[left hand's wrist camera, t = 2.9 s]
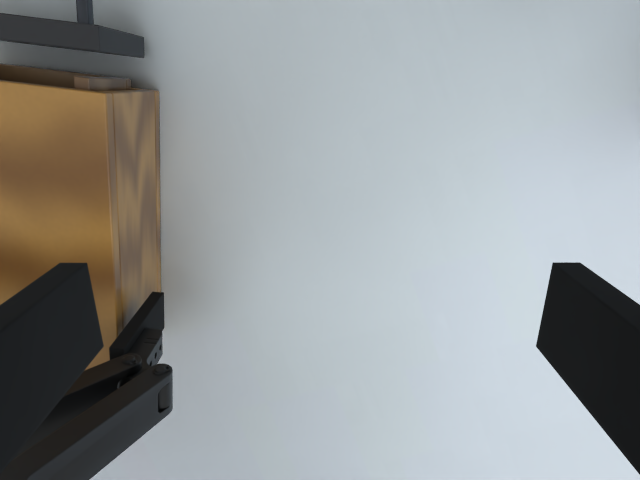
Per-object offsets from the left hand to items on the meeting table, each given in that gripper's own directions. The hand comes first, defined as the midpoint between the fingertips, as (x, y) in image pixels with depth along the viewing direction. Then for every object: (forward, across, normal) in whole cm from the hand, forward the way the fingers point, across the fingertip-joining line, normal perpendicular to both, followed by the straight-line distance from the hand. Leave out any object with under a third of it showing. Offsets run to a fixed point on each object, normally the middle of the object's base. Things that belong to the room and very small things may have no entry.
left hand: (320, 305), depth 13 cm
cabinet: (+19, -17, -3) cm, 26 cm away
